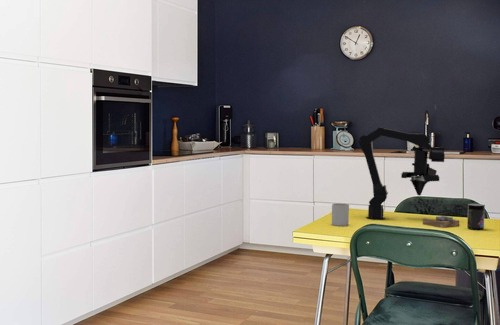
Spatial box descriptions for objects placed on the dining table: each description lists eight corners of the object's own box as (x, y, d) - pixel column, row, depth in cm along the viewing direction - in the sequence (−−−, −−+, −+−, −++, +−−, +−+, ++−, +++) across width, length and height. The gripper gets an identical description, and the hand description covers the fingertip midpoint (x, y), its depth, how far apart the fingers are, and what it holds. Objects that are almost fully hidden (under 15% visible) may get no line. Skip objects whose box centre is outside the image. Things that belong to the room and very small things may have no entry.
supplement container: (476, 230, 261) (477, 206, 261) (463, 228, 267) (464, 204, 266) (487, 229, 265) (488, 205, 264) (474, 227, 270) (475, 203, 270)
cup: (333, 226, 268) (334, 205, 267) (328, 222, 278) (329, 202, 277) (350, 226, 268) (350, 205, 268) (344, 222, 278) (345, 202, 278)
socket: (444, 227, 270) (444, 217, 270) (435, 225, 275) (435, 216, 275) (452, 226, 273) (452, 217, 273) (443, 225, 277) (443, 215, 277)
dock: (442, 227, 268) (442, 220, 268) (422, 224, 278) (423, 217, 278) (459, 226, 273) (459, 219, 273) (439, 222, 283) (439, 215, 283)
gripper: (449, 162, 282) (447, 197, 283) (419, 159, 298) (417, 192, 299) (430, 162, 276) (429, 197, 277) (401, 160, 293) (399, 193, 293)
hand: (419, 195), depth 287 cm, fingers closed
